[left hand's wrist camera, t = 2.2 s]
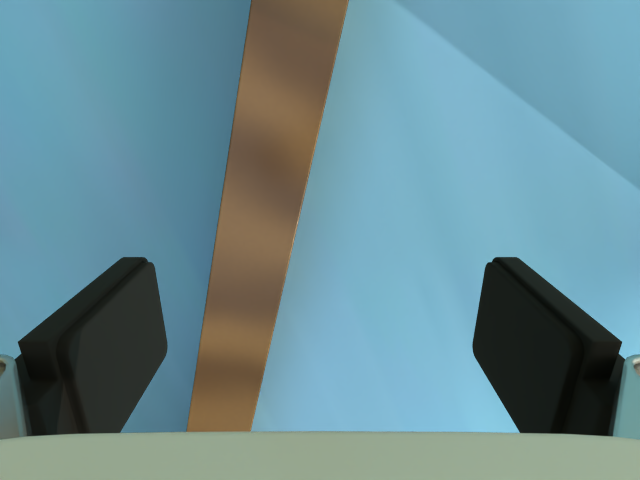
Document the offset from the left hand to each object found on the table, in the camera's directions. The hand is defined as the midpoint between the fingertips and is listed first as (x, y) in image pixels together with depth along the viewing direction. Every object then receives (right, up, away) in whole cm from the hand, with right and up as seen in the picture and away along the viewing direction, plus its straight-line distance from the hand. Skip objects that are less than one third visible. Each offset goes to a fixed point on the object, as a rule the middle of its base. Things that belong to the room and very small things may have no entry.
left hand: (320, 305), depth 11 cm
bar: (-8, -12, +27) cm, 31 cm away
